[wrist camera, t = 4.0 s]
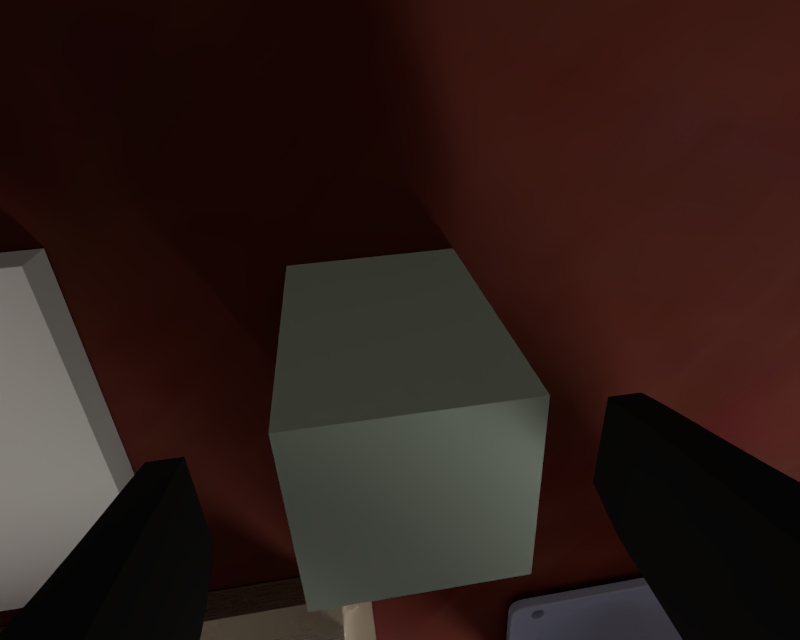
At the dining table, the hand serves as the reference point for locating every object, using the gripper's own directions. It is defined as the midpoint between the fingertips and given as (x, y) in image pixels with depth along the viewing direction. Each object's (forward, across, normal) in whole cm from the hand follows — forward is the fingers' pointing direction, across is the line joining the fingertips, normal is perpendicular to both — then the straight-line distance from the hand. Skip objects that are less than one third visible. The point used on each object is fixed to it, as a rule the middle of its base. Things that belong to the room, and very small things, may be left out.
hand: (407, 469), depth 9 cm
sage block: (+5, 0, 0) cm, 5 cm away
